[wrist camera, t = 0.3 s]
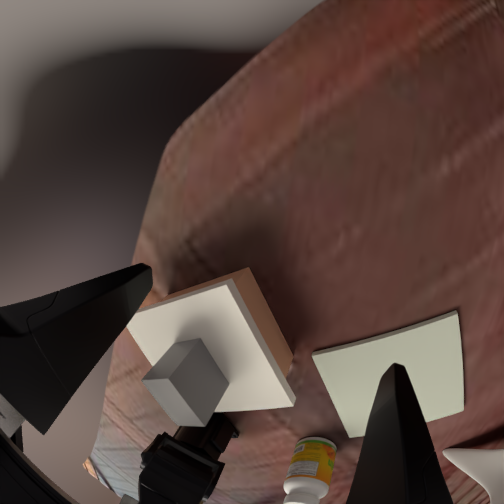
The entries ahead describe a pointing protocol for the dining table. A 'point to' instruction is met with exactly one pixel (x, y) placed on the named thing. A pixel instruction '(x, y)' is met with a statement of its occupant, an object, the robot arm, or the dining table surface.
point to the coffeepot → (128, 500)
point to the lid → (207, 356)
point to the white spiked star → (482, 468)
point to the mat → (402, 352)
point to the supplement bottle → (310, 471)
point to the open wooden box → (254, 314)
